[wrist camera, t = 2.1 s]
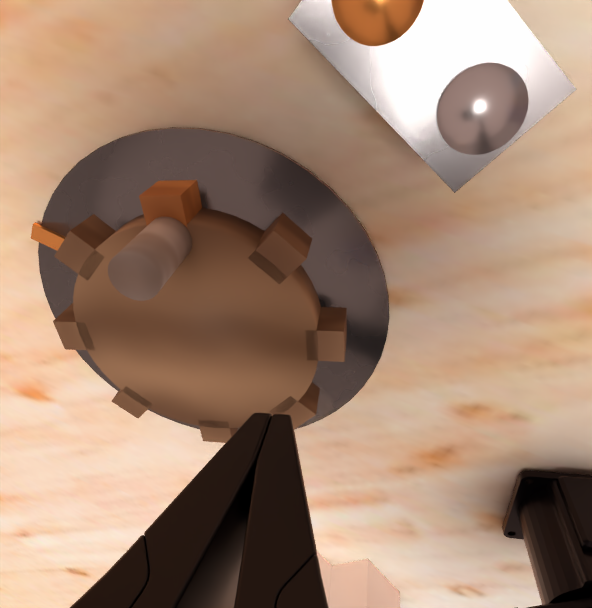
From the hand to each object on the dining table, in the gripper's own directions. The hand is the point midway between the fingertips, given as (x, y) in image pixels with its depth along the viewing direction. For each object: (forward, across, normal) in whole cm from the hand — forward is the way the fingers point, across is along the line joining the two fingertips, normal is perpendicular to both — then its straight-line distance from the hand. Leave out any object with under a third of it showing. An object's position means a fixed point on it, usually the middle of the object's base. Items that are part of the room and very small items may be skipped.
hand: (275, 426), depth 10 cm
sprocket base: (+12, +6, +6) cm, 15 cm away
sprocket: (+12, +6, +6) cm, 15 cm away
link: (+13, -4, -6) cm, 15 cm away
